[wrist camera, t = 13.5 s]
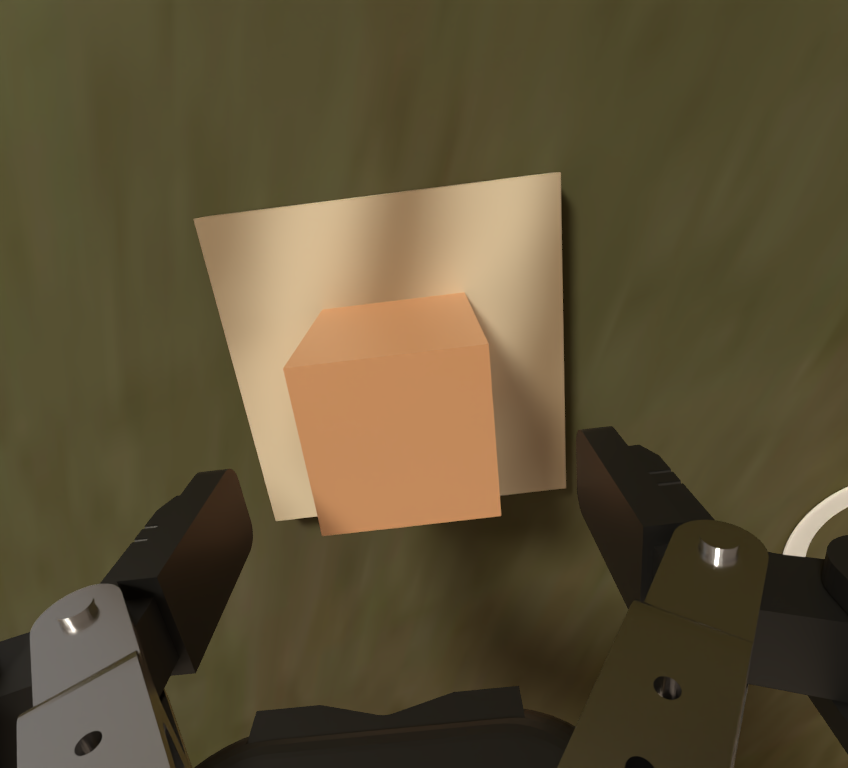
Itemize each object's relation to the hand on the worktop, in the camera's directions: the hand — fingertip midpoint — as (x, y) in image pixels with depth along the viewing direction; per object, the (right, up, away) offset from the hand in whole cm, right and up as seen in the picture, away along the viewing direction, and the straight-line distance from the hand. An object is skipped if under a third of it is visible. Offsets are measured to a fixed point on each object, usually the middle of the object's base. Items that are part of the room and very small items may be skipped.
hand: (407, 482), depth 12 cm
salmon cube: (0, +3, +7) cm, 7 cm away
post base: (0, +3, +8) cm, 9 cm away
